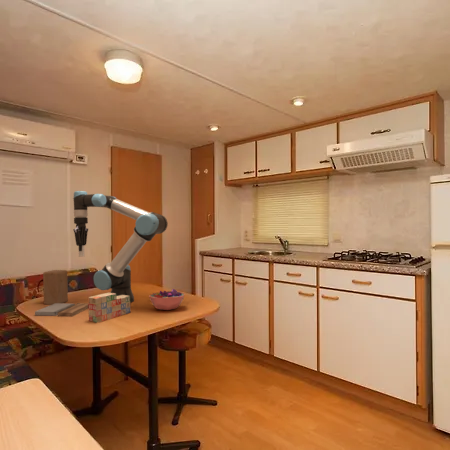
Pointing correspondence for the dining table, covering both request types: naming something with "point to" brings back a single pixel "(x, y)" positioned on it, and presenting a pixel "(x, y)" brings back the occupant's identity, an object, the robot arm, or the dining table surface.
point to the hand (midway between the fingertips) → (81, 256)
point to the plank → (53, 309)
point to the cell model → (167, 299)
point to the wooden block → (55, 287)
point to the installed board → (73, 310)
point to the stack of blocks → (107, 306)
